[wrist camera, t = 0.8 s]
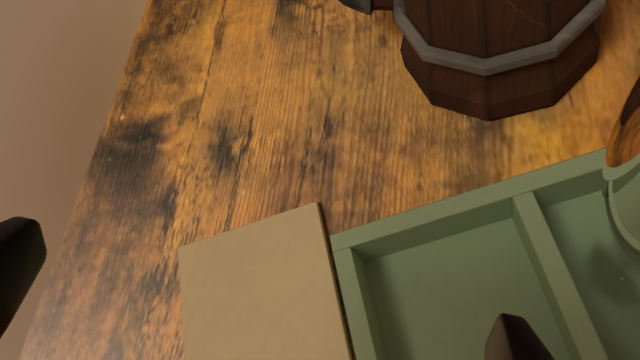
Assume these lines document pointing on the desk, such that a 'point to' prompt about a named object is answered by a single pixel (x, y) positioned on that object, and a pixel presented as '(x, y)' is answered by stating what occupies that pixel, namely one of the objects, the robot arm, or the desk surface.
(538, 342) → the robot arm
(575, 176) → the holder
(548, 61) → the mug
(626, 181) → the beer glass
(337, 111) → the desk surface
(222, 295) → the coaster
